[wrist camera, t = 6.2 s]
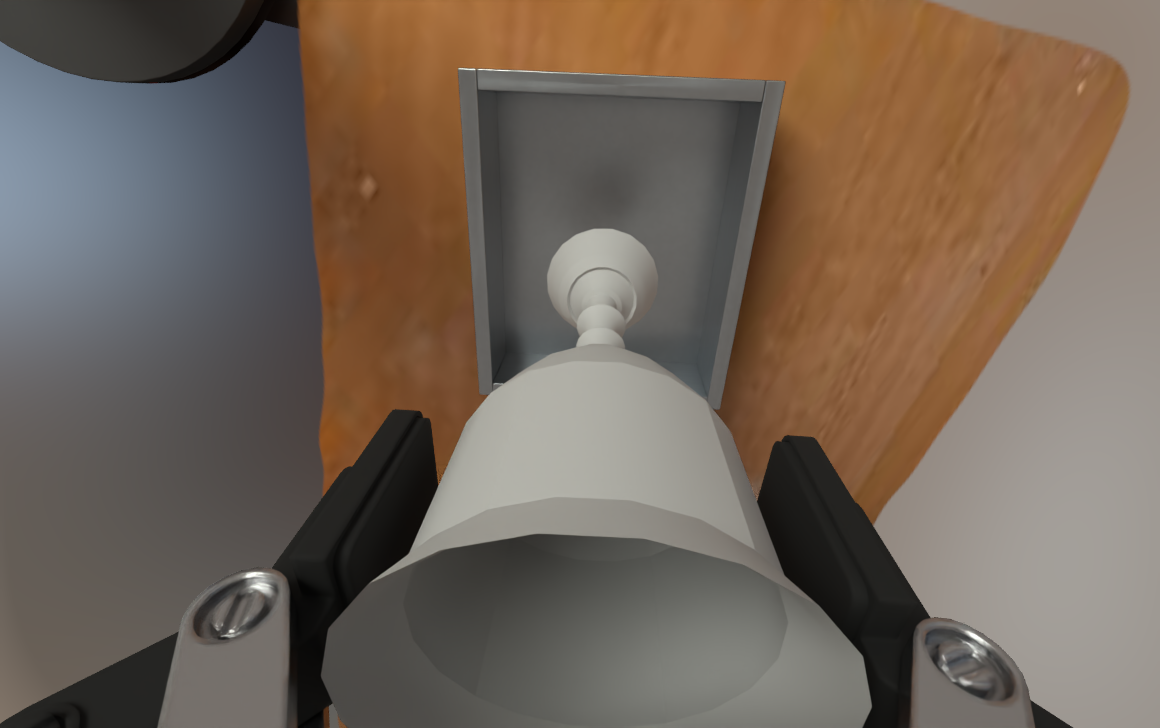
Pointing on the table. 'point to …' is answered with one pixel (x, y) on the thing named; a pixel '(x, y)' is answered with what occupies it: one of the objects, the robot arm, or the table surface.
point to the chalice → (593, 557)
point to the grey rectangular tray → (613, 206)
